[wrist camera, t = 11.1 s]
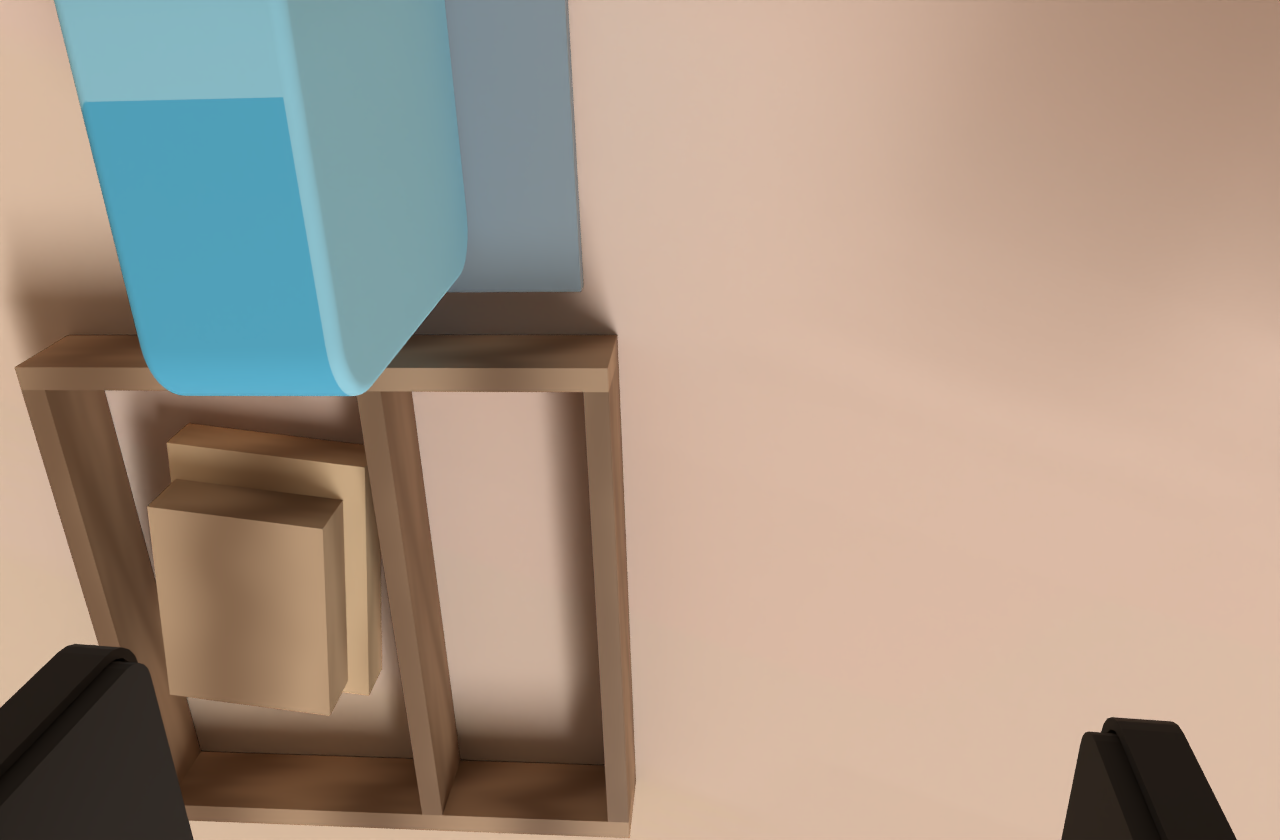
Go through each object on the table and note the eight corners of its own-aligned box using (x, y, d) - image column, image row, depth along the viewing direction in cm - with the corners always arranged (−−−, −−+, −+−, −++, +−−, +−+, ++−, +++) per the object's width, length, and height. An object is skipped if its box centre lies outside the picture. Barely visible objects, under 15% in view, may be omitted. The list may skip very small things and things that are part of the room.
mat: (556, -209, 28) (552, -212, 28) (583, 286, 34) (580, 291, 34) (135, -190, 29) (123, -192, 29) (231, 287, 35) (223, 293, 35)
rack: (617, 334, 35) (607, 368, 32) (635, 781, 43) (629, 837, 40) (67, 335, 36) (14, 367, 34) (186, 765, 45) (151, 818, 42)
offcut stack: (382, 442, 38) (345, 495, 34) (384, 662, 42) (351, 731, 38) (193, 418, 38) (136, 469, 34) (214, 640, 42) (166, 706, 39)
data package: (271, -154, 29) (-5, -208, 18) (430, -161, 29) (245, -221, 18) (337, 265, 34) (152, 420, 23) (473, 263, 34) (351, 420, 23)
